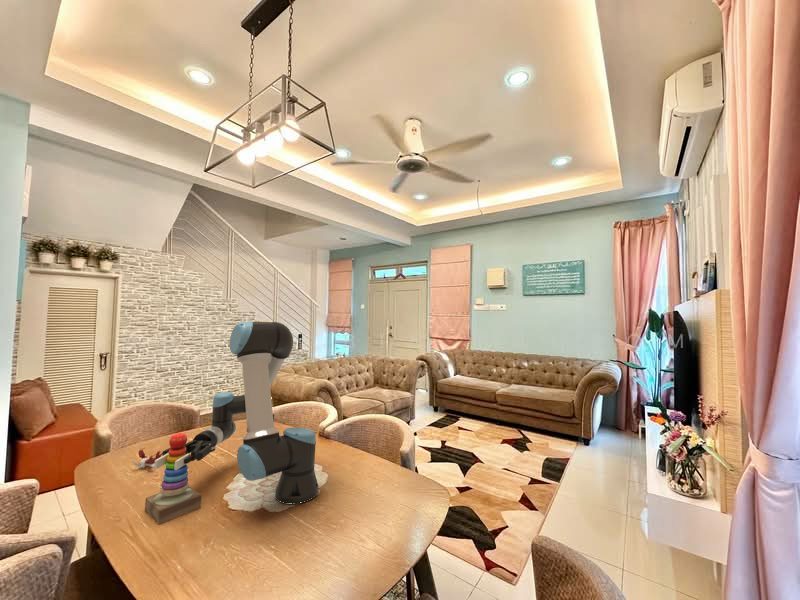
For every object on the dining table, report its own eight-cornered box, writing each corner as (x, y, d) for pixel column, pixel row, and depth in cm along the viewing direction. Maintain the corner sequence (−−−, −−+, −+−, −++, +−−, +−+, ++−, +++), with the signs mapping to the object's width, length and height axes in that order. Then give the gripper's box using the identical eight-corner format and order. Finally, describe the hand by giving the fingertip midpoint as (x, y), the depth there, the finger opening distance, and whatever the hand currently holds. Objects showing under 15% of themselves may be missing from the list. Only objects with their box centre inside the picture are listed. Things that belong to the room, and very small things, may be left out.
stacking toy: (194, 486, 117) (198, 430, 118) (176, 498, 109) (181, 438, 110) (172, 484, 117) (177, 428, 118) (153, 495, 109) (159, 436, 110)
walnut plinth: (200, 507, 114) (201, 494, 114) (159, 524, 104) (160, 509, 105) (184, 495, 121) (185, 483, 121) (144, 510, 111) (145, 496, 112)
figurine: (173, 467, 143) (174, 451, 144) (140, 477, 134) (141, 459, 134) (158, 458, 152) (159, 442, 152) (126, 466, 142) (127, 450, 143)
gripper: (231, 450, 131) (194, 478, 108) (183, 448, 131) (135, 476, 108) (232, 430, 132) (195, 454, 109) (184, 429, 132) (137, 452, 109)
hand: (165, 465), depth 108 cm, fingers closed on stacking toy, 6 cm apart
